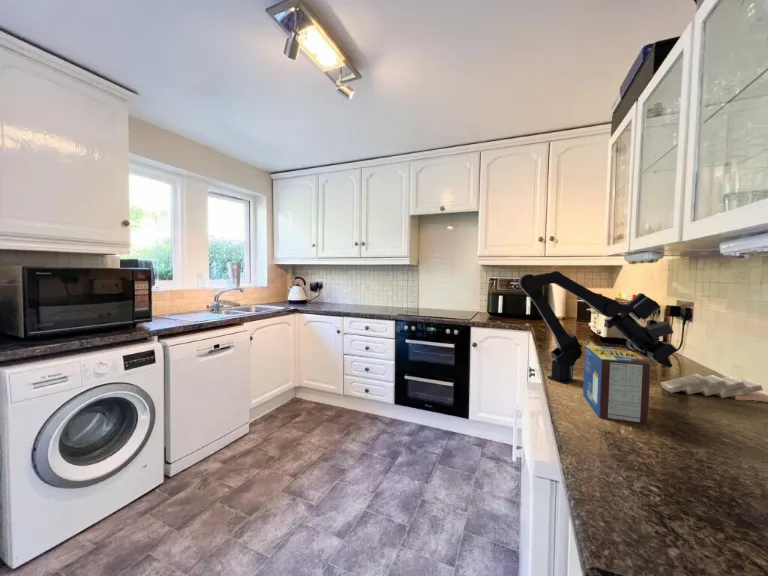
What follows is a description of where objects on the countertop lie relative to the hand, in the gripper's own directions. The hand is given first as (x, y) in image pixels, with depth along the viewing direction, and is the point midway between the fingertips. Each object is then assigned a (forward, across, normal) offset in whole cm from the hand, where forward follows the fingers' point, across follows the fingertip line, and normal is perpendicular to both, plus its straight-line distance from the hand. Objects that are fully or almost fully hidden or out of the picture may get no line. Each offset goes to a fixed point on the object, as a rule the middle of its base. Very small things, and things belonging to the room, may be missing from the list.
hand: (670, 366), depth 99 cm
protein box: (-10, -21, +22) cm, 32 cm away
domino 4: (+13, 0, -3) cm, 13 cm away
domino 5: (+16, 0, -6) cm, 17 cm away
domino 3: (+10, 0, 0) cm, 10 cm away
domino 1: (+4, 0, +6) cm, 7 cm away
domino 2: (+7, 0, +3) cm, 8 cm away
